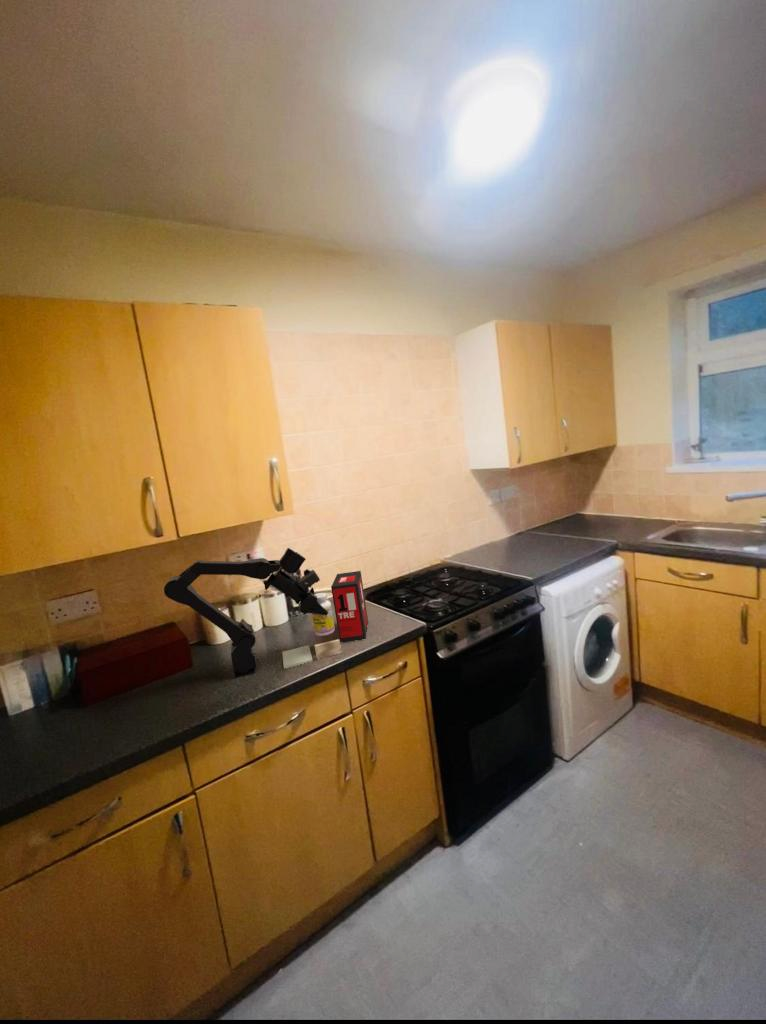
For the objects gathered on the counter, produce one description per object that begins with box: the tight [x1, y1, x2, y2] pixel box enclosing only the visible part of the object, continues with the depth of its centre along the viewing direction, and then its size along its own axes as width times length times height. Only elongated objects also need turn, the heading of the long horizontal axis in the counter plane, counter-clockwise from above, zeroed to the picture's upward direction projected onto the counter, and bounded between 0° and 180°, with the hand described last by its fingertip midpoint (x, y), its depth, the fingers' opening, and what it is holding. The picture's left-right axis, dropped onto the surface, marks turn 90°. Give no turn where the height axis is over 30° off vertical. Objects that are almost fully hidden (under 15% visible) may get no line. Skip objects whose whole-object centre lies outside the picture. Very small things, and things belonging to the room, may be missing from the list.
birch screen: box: [314, 638, 342, 660], centre depth 142 cm, size 8×1×4 cm, turn 105°
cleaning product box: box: [330, 570, 369, 643], centre depth 158 cm, size 16×9×20 cm, turn 179°
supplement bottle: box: [311, 592, 336, 637], centre depth 146 cm, size 7×7×13 cm
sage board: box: [281, 645, 314, 670], centre depth 144 cm, size 9×12×1 cm
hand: (326, 610), depth 146 cm, fingers closed on supplement bottle, 7 cm apart
